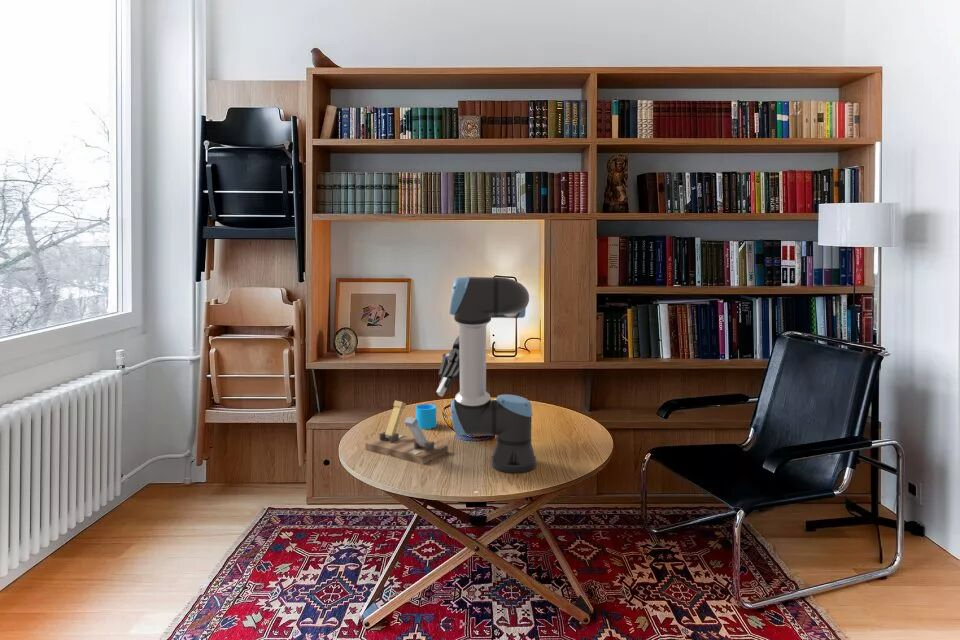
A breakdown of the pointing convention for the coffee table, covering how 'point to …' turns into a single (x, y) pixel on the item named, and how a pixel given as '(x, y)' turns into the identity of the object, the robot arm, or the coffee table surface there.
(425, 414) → the mug
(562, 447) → the coffee table surface
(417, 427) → the grey lever
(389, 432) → the ochre lever
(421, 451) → the console
